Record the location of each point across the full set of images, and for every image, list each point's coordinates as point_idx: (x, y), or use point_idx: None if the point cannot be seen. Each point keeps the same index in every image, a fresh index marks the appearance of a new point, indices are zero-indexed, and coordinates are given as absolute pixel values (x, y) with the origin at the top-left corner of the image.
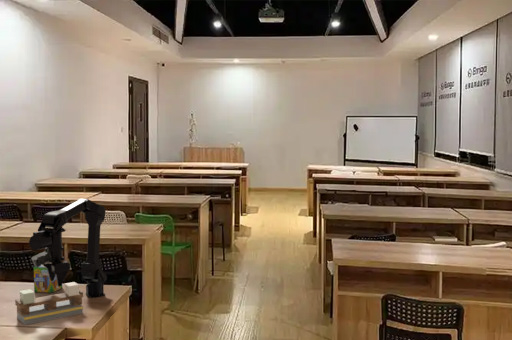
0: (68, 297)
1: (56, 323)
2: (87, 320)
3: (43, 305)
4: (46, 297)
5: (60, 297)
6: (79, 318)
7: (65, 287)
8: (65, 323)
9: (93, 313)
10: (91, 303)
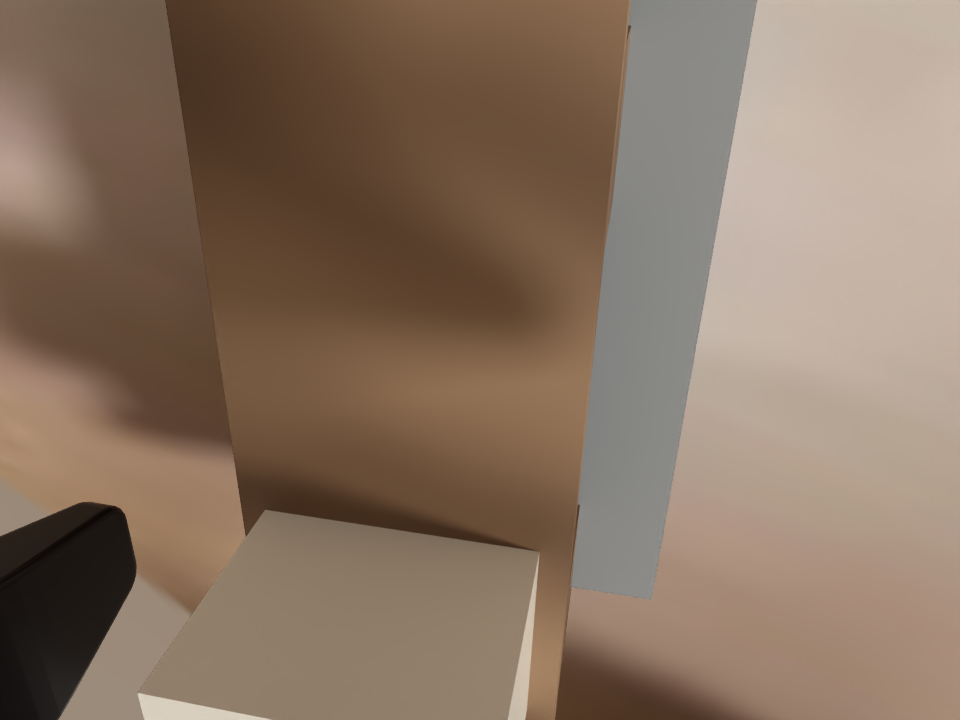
0: (243, 483)
1: (49, 17)
2: (21, 389)
3: (718, 48)
4: (478, 91)
5: (275, 362)
6: (130, 356)
7: (427, 663)
8: (3, 130)
9: (235, 544)
10: (619, 701)
